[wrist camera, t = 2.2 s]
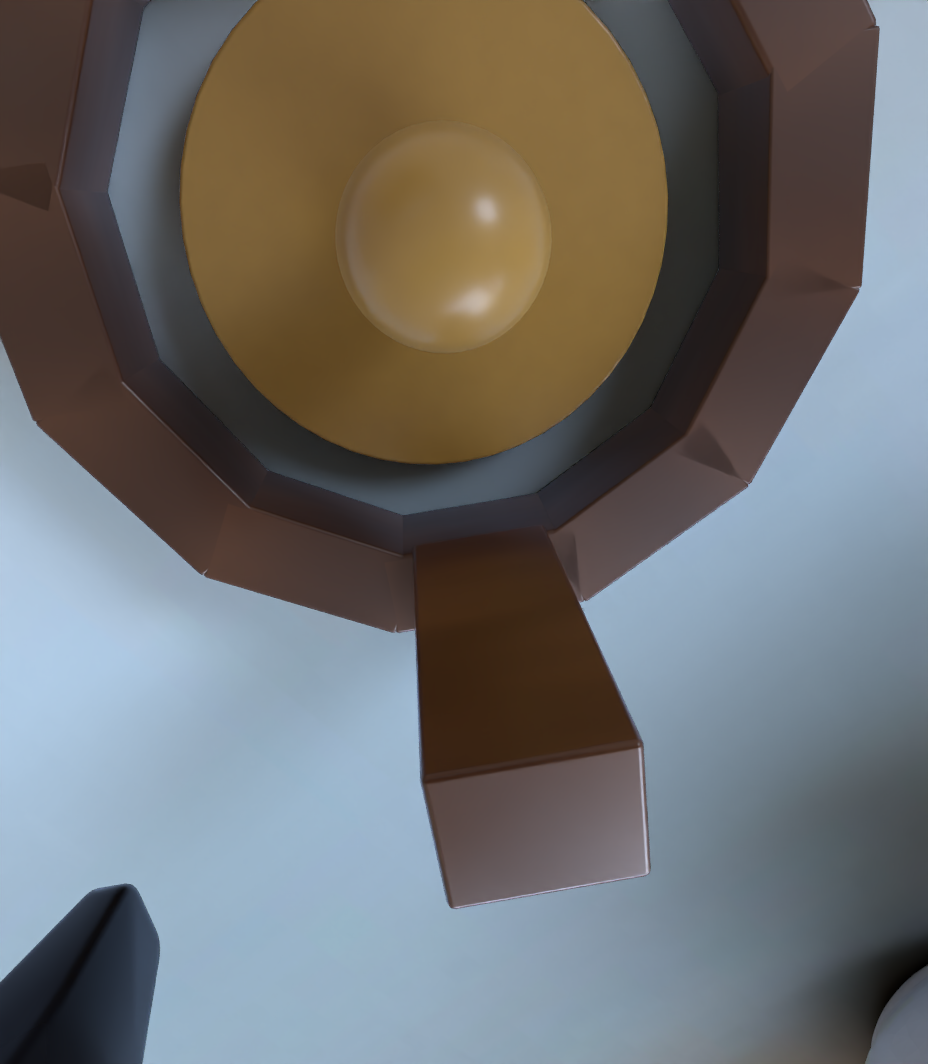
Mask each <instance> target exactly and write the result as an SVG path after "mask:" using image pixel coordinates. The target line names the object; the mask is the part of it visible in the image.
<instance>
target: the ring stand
mask: <svg viewBox="0 0 928 1064" xmlns="http://www.w3.org/2000/svg"><path fill="white" fill-rule="evenodd" d="M179 206H180V217H181V228H182V238H183V243H184V247H185V252H186V257H187V261H188V266H189V270H190V274H191V277H192V280H193V283H194V285H195V288H196V291H197V294H198V297H199V300H200V303H201V305H202V307H203V309H204V311H205V313H206V316H207V318H208V320H209V322H210V324H211V326H212V328H213V330H214V332H215V334H216V336H217V337H218V339H219V340H220V342H221V343H222V345H223V347H224V348H225V350H226V351H227V353H228V354H229V356H230V357H231V359H232V361H233V362H234V363H235V364H236V366H237V367H238V368H239V369H240V371H241V372H242V373H243V374H244V375H245V377H246V378H247V379H248V380H249V381H250V383H251V384H252V385H253V386H254V387H255V388H256V389H257V390H258V391H259V392H260V393H261V394H262V395H263V396H264V397H265V398H266V399H267V400H268V401H270V402H271V403H272V404H273V405H274V406H275V407H276V408H277V409H278V410H280V411H281V412H282V413H284V414H285V415H286V416H288V417H289V418H290V419H292V420H293V421H295V422H296V423H297V424H299V425H300V426H301V427H303V428H305V429H307V430H308V431H310V432H312V433H314V434H315V435H317V436H319V437H321V438H322V439H324V440H326V441H328V442H331V443H333V444H335V445H338V446H340V447H343V448H345V449H347V450H350V451H352V452H355V453H359V454H362V455H366V456H369V457H373V458H376V459H380V460H386V461H393V462H399V463H406V464H431V465H439V464H448V463H458V462H466V461H471V460H475V459H479V458H484V457H488V456H492V455H495V454H498V453H501V452H503V451H506V450H509V449H512V448H514V447H517V446H519V445H521V444H523V443H525V442H527V441H529V440H531V439H533V438H535V437H537V436H539V435H541V434H543V433H545V432H546V431H548V430H549V429H551V428H552V427H553V426H555V425H556V424H558V423H559V422H561V421H562V420H564V419H565V418H567V417H568V416H569V415H570V414H572V413H573V412H574V411H575V410H576V409H577V408H578V407H580V406H581V405H582V404H583V403H584V402H585V401H586V400H588V399H589V398H590V397H591V396H592V395H593V393H594V392H595V391H596V390H597V389H598V388H599V387H600V386H601V385H602V383H603V382H604V381H605V380H606V379H607V378H608V377H609V376H610V374H611V373H612V372H613V370H614V369H615V367H616V366H617V364H618V363H619V362H620V360H621V359H622V357H623V356H624V355H625V353H626V352H627V350H628V348H629V346H630V345H631V343H632V341H633V339H634V337H635V335H636V334H637V332H638V330H639V328H640V326H641V324H642V322H643V320H644V317H645V315H646V312H647V310H648V307H649V305H650V302H651V300H652V297H653V295H654V291H655V288H656V284H657V280H658V277H659V273H660V269H661V265H662V261H663V254H664V248H665V241H666V234H667V219H668V188H667V177H666V166H665V158H664V154H663V149H662V144H661V140H660V135H659V130H658V126H657V123H656V120H655V117H654V114H653V111H652V109H651V106H650V103H649V100H648V97H647V94H646V92H645V90H644V88H643V86H642V84H641V82H640V80H639V78H638V76H637V74H636V72H635V70H634V67H633V65H632V63H631V61H630V60H629V58H628V57H627V55H626V54H625V52H624V51H623V49H622V48H621V46H620V45H619V43H618V42H617V40H616V39H615V37H614V36H613V34H612V33H611V31H610V30H609V29H608V28H607V27H606V25H605V24H604V23H603V22H602V21H601V20H600V19H599V18H598V16H597V15H596V14H595V13H594V12H593V11H592V10H591V9H590V7H589V6H588V5H587V4H586V3H585V2H584V1H583V0H257V1H256V2H255V3H254V4H253V6H252V7H251V8H250V9H249V10H248V11H247V13H246V14H245V15H244V16H243V17H242V18H241V20H240V21H239V22H238V23H237V24H236V25H235V27H234V28H233V29H232V30H231V32H230V33H229V35H228V37H227V38H226V40H225V41H224V43H223V44H222V46H221V48H220V49H219V51H218V52H217V54H216V55H215V57H214V59H213V60H212V62H211V64H210V66H209V69H208V71H207V73H206V75H205V77H204V80H203V82H202V84H201V86H200V89H199V91H198V93H197V95H196V99H195V102H194V105H193V109H192V112H191V115H190V119H189V122H188V126H187V129H186V134H185V140H184V146H183V153H182V159H181V165H180V192H179Z"/></svg>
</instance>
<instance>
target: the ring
mask: <svg viewBox="0 0 928 1064" xmlns="http://www.w3.org/2000/svg"><path fill="white" fill-rule="evenodd" d="M150 1H151V0H0V337H1V340H2V343H3V345H4V348H5V350H6V353H7V355H8V358H9V360H10V363H11V365H12V368H13V370H14V373H15V376H16V378H17V381H18V383H19V386H20V388H21V391H22V393H23V396H24V398H25V401H26V403H27V406H28V409H29V411H30V414H31V416H32V419H33V420H34V421H36V422H37V423H36V424H37V426H38V427H40V428H41V429H42V430H43V431H44V432H45V433H46V434H47V435H48V436H49V437H51V438H52V439H53V440H54V441H55V442H56V443H57V444H58V445H59V446H60V447H61V448H63V449H64V450H65V451H66V452H67V453H68V454H69V455H70V456H71V457H72V458H74V459H75V460H76V461H77V462H78V463H79V464H80V465H81V466H82V467H83V468H84V469H86V470H87V471H88V472H89V473H90V474H91V475H92V476H93V477H94V478H95V479H97V480H98V481H99V482H100V483H101V484H102V485H103V486H104V487H105V488H106V489H108V490H109V491H110V492H111V493H112V494H113V495H114V496H115V497H116V498H117V499H118V500H120V501H121V502H122V503H123V504H124V505H125V506H126V507H127V508H128V509H129V510H131V511H132V512H133V513H134V514H135V515H136V516H137V517H138V518H139V519H140V520H142V521H143V522H144V523H145V524H146V525H147V526H148V527H149V528H150V529H151V530H152V531H154V532H155V533H156V534H157V535H158V536H159V537H160V538H161V539H162V540H163V541H165V542H166V543H167V544H168V545H169V546H170V547H171V548H172V549H173V550H174V551H175V552H177V553H178V554H179V555H180V556H181V557H182V558H183V559H184V560H185V561H186V562H188V563H189V564H190V565H191V566H192V567H193V568H194V569H195V570H196V571H197V572H199V573H200V574H201V575H203V574H204V576H205V577H207V578H210V579H214V580H217V581H220V582H224V583H227V584H230V585H234V586H237V587H241V588H244V589H247V590H251V591H254V592H257V593H261V594H264V595H268V596H271V597H274V598H278V599H281V600H284V601H288V602H291V603H295V604H298V605H301V606H305V607H308V608H311V609H315V610H318V611H321V612H325V613H328V614H332V615H335V616H338V617H342V618H345V619H348V620H352V621H355V622H359V623H362V624H365V625H369V626H372V627H375V628H379V629H382V630H386V631H389V632H395V631H396V632H398V633H401V632H407V631H413V630H415V637H416V667H417V696H418V725H419V755H420V781H421V786H422V790H423V795H424V800H425V804H426V809H427V813H428V818H429V822H430V827H431V831H432V836H433V841H434V845H435V850H436V854H437V859H438V863H439V868H440V872H441V877H442V882H443V886H444V891H445V895H446V900H447V903H448V904H449V906H450V907H451V908H453V909H457V908H463V907H469V906H475V905H481V904H486V903H492V902H498V901H504V900H509V899H515V898H521V897H527V896H533V895H538V894H544V893H550V892H556V891H561V890H567V889H573V888H579V887H585V886H590V885H596V884H602V883H608V882H613V881H619V880H625V879H631V878H637V877H642V876H646V875H648V874H649V873H650V868H651V864H650V847H649V830H648V813H647V796H646V779H645V762H644V745H643V741H642V739H641V737H640V734H639V732H638V730H637V728H636V726H635V723H634V721H633V719H632V717H631V715H630V713H629V710H628V708H627V706H626V704H625V702H624V699H623V697H622V695H621V693H620V691H619V689H618V686H617V684H616V682H615V680H614V678H613V675H612V673H611V671H610V669H609V667H608V664H607V662H606V660H605V658H604V656H603V654H602V651H601V649H600V647H599V645H598V643H597V640H596V638H595V636H594V634H593V632H592V630H591V627H590V625H589V623H588V621H587V619H586V616H585V614H584V612H583V610H582V608H581V605H580V602H583V601H584V600H585V601H587V600H589V599H590V598H592V597H593V596H595V595H596V594H597V593H599V592H600V591H602V590H603V589H604V588H606V587H607V586H609V585H610V584H612V583H613V582H614V581H616V580H617V579H619V578H620V577H621V576H623V575H624V574H626V573H627V572H628V571H630V570H631V569H633V568H634V567H636V566H637V565H638V564H640V563H641V562H643V561H644V560H645V559H647V558H648V557H650V556H651V555H652V554H654V553H655V552H657V551H658V550H660V549H661V548H662V547H664V546H665V545H667V544H668V543H669V542H671V541H672V540H674V539H675V538H677V537H678V536H679V535H681V534H682V533H684V532H685V531H686V530H688V529H689V528H691V527H692V526H693V525H695V524H696V523H698V522H699V521H701V520H702V519H703V518H705V517H706V516H708V515H709V514H710V513H712V512H713V511H715V510H716V509H717V508H719V507H720V506H722V505H723V504H725V503H726V502H727V501H729V500H730V499H732V498H733V497H734V496H736V495H737V494H739V493H740V492H741V491H743V490H744V489H746V488H747V487H748V484H750V483H751V482H752V480H753V478H754V477H755V475H756V473H757V471H758V469H759V468H760V466H761V464H762V462H763V461H764V459H765V457H766V455H767V454H768V452H769V450H770V448H771V446H772V445H773V443H774V441H775V439H776V438H777V436H778V434H779V432H780V431H781V429H782V427H783V425H784V423H785V422H786V420H787V418H788V416H789V415H790V413H791V411H792V409H793V408H794V406H795V404H796V402H797V400H798V399H799V397H800V395H801V393H802V392H803V390H804V388H805V386H806V385H807V383H808V381H809V379H810V377H811V376H812V374H813V372H814V370H815V369H816V367H817V365H818V363H819V362H820V360H821V358H822V356H823V354H824V353H825V351H826V349H827V347H828V346H829V344H830V342H831V340H832V339H833V337H834V335H835V333H836V331H837V330H838V328H839V326H840V324H841V323H842V321H843V319H844V317H845V316H846V314H847V312H848V310H849V308H850V307H851V305H852V303H853V301H854V300H855V298H856V296H857V294H858V293H859V288H860V287H861V285H862V272H863V258H864V243H865V229H866V215H867V201H868V186H869V172H870V158H871V144H872V130H873V115H874V101H875V87H876V73H877V58H878V44H879V30H880V29H879V26H875V25H876V19H875V17H874V15H873V12H872V10H871V8H870V6H869V3H868V1H867V0H668V2H669V4H670V6H671V8H672V9H673V11H674V13H675V15H676V17H677V19H678V20H679V22H680V24H681V26H682V28H683V30H684V31H685V33H686V35H687V37H688V39H689V41H690V43H691V44H692V46H693V48H694V50H695V52H696V54H697V55H698V57H699V59H700V61H701V63H702V65H703V66H704V68H705V70H706V72H707V74H708V76H709V78H710V79H711V81H712V83H713V85H714V87H715V89H716V90H717V92H718V185H719V270H718V272H717V274H716V276H715V278H714V280H713V282H712V284H711V286H710V288H709V290H708V292H707V294H706V296H705V298H704V300H703V302H702V304H701V306H700V308H699V310H698V312H697V314H696V316H695V318H694V321H693V323H692V325H691V327H690V329H689V331H688V333H687V335H686V337H685V339H684V341H683V343H682V345H681V347H680V349H679V351H678V353H677V355H676V357H675V359H674V361H673V363H672V365H671V367H670V369H669V371H668V373H667V375H666V377H665V379H664V381H663V383H662V385H661V387H660V389H659V392H658V394H657V396H656V398H655V400H654V402H653V404H652V406H651V408H649V409H648V410H647V411H645V412H644V413H643V414H641V415H640V416H639V417H637V418H636V419H635V420H633V421H632V422H631V423H629V424H628V425H627V426H625V427H624V428H623V429H621V430H620V431H619V432H617V433H616V434H615V435H613V436H612V437H611V438H609V439H608V440H607V441H605V442H604V443H603V444H601V445H600V446H599V447H597V448H596V449H595V450H594V451H592V452H591V453H590V454H588V455H587V456H586V457H584V458H583V459H582V460H580V461H579V462H578V463H576V464H575V465H574V466H572V467H571V468H570V469H568V470H567V471H566V472H564V473H563V474H562V475H560V476H559V477H558V478H556V479H555V480H554V481H552V482H551V483H550V484H548V485H547V486H546V487H544V488H543V489H542V490H540V491H539V492H538V493H536V494H530V495H524V496H518V497H512V498H506V499H500V500H494V501H488V502H482V503H476V504H470V505H464V506H458V507H452V508H446V509H440V510H434V511H428V512H422V513H416V514H410V515H400V514H397V513H394V512H391V511H388V510H385V509H382V508H379V507H376V506H373V505H370V504H367V503H364V502H361V501H358V500H355V499H352V498H349V497H346V496H343V495H340V494H337V493H334V492H331V491H328V490H325V489H322V488H319V487H316V486H313V485H310V484H307V483H304V482H301V481H298V480H295V479H292V478H289V477H286V476H283V475H280V474H277V473H274V472H271V471H268V470H267V469H266V468H265V467H264V466H263V465H262V464H261V463H260V462H259V461H258V460H257V459H256V458H255V456H254V455H253V454H252V453H251V452H250V451H249V450H248V449H247V448H246V447H245V446H244V445H243V444H242V443H241V442H240V441H239V440H238V439H237V438H236V437H235V436H234V435H233V434H232V433H231V432H230V431H229V430H228V429H227V428H226V427H225V426H224V425H223V424H222V423H221V422H220V421H219V420H218V419H217V418H216V417H215V416H214V414H213V413H212V412H211V411H210V410H209V409H208V408H207V407H206V406H205V405H204V404H203V403H202V402H201V401H200V400H199V399H198V398H197V397H196V396H195V395H194V394H193V393H192V392H191V391H190V390H189V389H188V388H187V387H186V386H185V385H184V384H183V383H182V382H181V381H180V380H179V379H178V378H177V377H176V376H175V375H174V374H173V372H172V371H171V370H170V369H169V368H168V367H167V366H166V365H165V364H164V363H163V362H162V361H161V360H160V359H159V356H158V353H157V349H156V346H155V343H154V340H153V337H152V333H151V330H150V327H149V324H148V321H147V317H146V314H145V311H144V308H143V304H142V301H141V298H140V295H139V292H138V288H137V285H136V282H135V279H134V276H133V272H132V269H131V266H130V263H129V260H128V256H127V253H126V250H125V247H124V244H123V240H122V237H121V234H120V231H119V227H118V224H117V221H116V218H115V215H114V211H113V208H112V205H111V202H110V199H109V195H108V192H107V191H108V186H109V181H110V176H111V171H112V166H113V161H114V156H115V151H116V146H117V141H118V136H119V131H120V126H121V121H122V115H123V110H124V105H125V100H126V95H127V90H128V85H129V80H130V75H131V70H132V65H133V60H134V55H135V50H136V45H137V40H138V35H139V30H140V24H141V19H142V14H143V9H144V7H145V6H146V5H147V4H148V3H149V2H150Z"/></svg>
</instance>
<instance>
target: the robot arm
mask: <svg viewBox="0 0 928 1064" xmlns="http://www.w3.org/2000/svg"><path fill="white" fill-rule="evenodd" d="M159 956H160V945H159V938H158V934H157V931H156V929H155V927H154V924H153V922H152V920H151V918H150V916H149V914H148V911H147V909H146V907H145V905H144V903H143V900H142V898H141V896H140V894H139V892H138V890H137V889H136V888H135V887H134V886H133V885H131V884H120V885H114V886H109V887H103V888H97V889H95V890H92V891H91V892H89V893H88V894H87V895H86V896H85V897H84V898H83V899H82V900H81V901H80V902H79V903H78V904H77V905H76V906H75V907H74V908H73V909H72V910H71V911H70V912H69V913H68V914H67V915H66V916H65V917H64V918H63V919H62V920H61V921H60V922H59V923H58V924H57V925H56V926H55V927H54V928H53V929H52V930H51V931H50V932H49V933H48V934H47V935H46V936H45V937H44V938H43V939H42V940H41V941H40V942H39V943H38V944H37V945H36V946H35V947H34V949H33V950H32V951H31V952H30V953H29V954H28V955H27V956H26V957H25V958H24V959H23V960H22V961H21V962H20V963H19V964H18V965H17V966H16V967H15V968H14V969H13V970H12V971H11V972H10V973H9V974H8V975H7V976H6V977H5V978H4V979H3V980H2V981H1V982H0V1064H142V1062H143V1055H144V1049H145V1043H146V1037H147V1031H148V1025H149V1018H150V1012H151V1006H152V1000H153V994H154V988H155V981H156V975H157V969H158V963H159Z"/></svg>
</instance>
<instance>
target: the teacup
mask: <svg viewBox="0 0 928 1064" xmlns="http://www.w3.org/2000/svg"><path fill="white" fill-rule="evenodd" d="M865 1064H928V965H926V966H925V967H924V968H922V969H921V970H919V971H918V972H916V973H915V974H914V975H912V976H911V977H910V978H909V979H908V980H907V981H906V982H905V983H904V984H903V985H902V986H901V987H900V988H899V989H898V990H897V991H896V993H895V994H894V995H893V996H892V997H891V999H890V1000H889V1001H888V1003H887V1004H886V1006H885V1008H884V1009H883V1011H882V1013H881V1015H880V1017H879V1019H878V1022H877V1025H876V1027H875V1030H874V1033H873V1037H872V1042H871V1049H870V1051H869V1053H868V1056H867V1059H866V1062H865Z"/></svg>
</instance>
